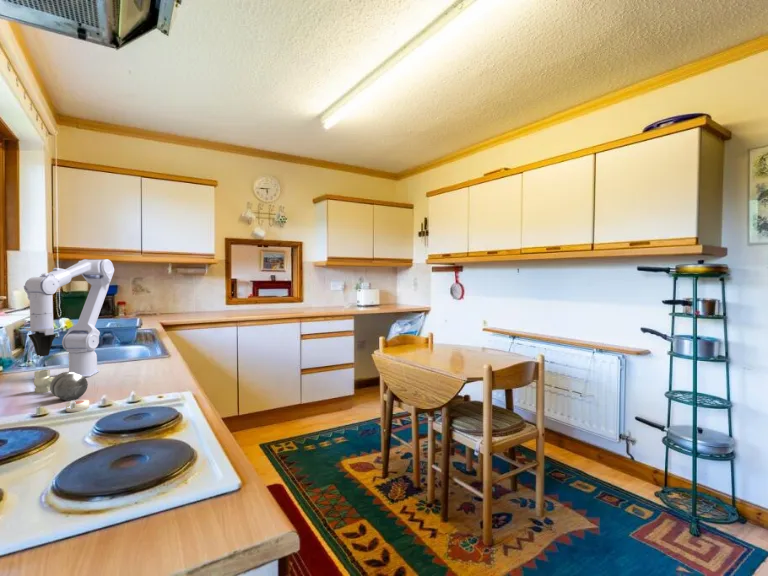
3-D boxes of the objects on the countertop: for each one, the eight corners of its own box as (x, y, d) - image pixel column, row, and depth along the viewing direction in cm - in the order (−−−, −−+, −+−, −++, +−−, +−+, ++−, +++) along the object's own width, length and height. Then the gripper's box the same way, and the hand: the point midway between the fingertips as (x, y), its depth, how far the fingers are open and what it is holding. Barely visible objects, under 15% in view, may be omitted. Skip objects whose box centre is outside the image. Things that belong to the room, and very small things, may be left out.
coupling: (50, 400, 116) (49, 374, 116) (81, 394, 123) (80, 369, 122) (56, 403, 113) (55, 376, 113) (87, 397, 120) (87, 371, 120)
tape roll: (71, 407, 111) (71, 400, 110) (92, 405, 112) (92, 398, 112) (62, 412, 106) (62, 405, 106) (84, 411, 107) (84, 404, 107)
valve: (26, 394, 123) (58, 396, 121) (25, 373, 123) (57, 374, 121) (48, 388, 130) (78, 390, 127) (47, 368, 130) (78, 369, 127)
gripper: (18, 313, 131) (19, 355, 132) (32, 315, 123) (34, 359, 123) (45, 312, 137) (46, 351, 137) (61, 314, 129) (62, 356, 129)
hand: (42, 355), depth 131 cm, fingers closed
